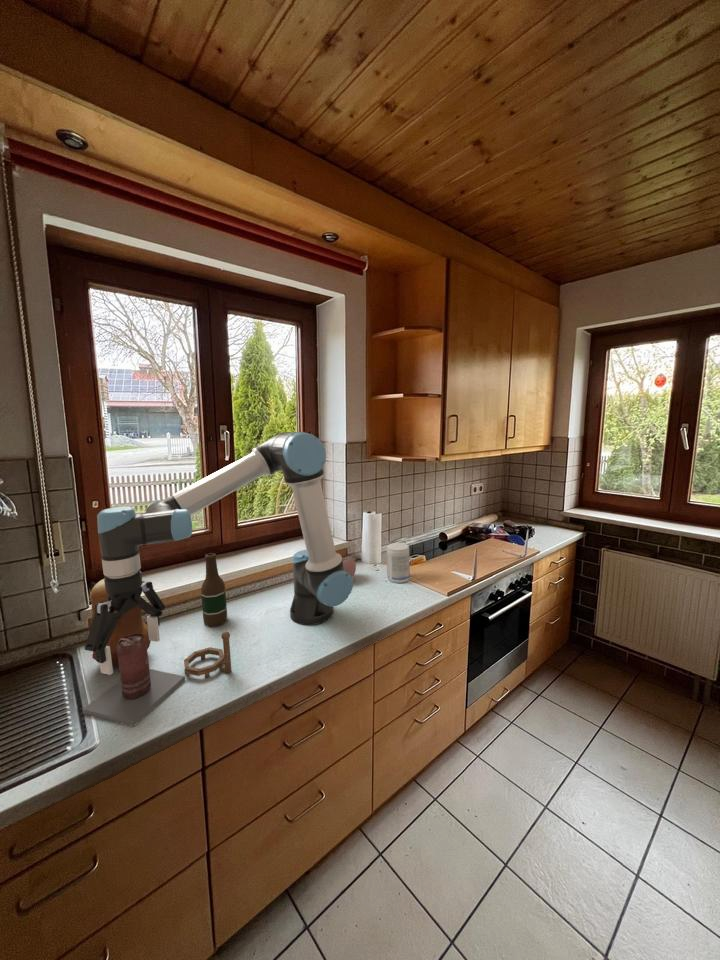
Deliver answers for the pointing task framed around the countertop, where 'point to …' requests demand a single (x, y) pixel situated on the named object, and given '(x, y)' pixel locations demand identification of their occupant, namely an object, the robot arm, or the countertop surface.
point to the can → (133, 666)
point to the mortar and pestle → (350, 566)
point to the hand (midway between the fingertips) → (132, 655)
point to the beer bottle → (213, 594)
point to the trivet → (133, 710)
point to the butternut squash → (119, 622)
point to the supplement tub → (398, 562)
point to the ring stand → (214, 651)
